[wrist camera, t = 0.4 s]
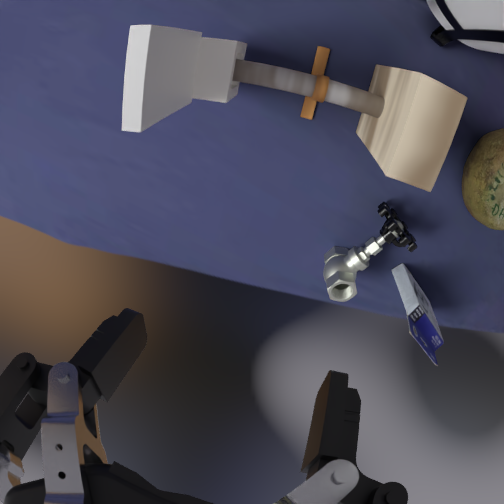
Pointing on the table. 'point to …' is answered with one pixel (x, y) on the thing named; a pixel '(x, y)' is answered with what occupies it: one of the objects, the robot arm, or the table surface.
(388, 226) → the valve
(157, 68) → the white upright panel
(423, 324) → the ink box
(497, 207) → the weight
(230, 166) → the table surface
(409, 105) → the rod stand
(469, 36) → the coffee press
